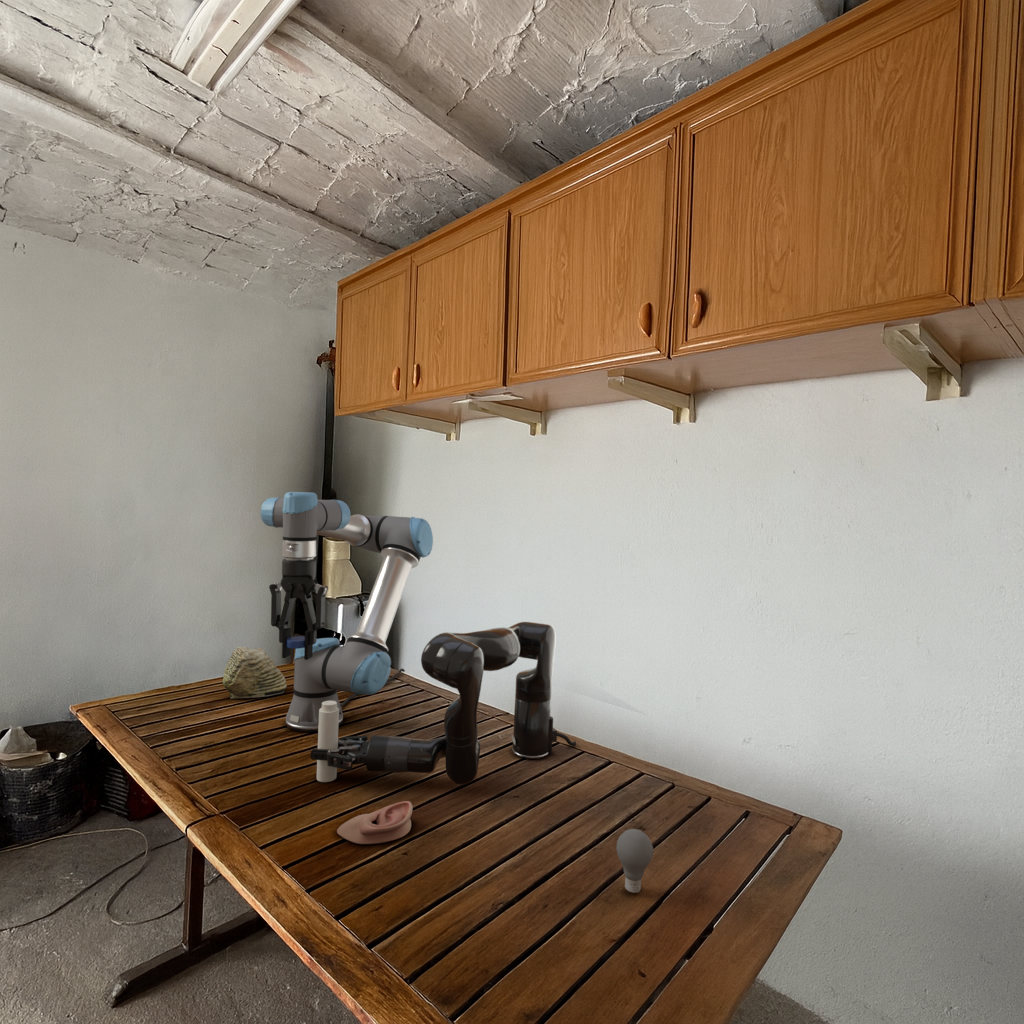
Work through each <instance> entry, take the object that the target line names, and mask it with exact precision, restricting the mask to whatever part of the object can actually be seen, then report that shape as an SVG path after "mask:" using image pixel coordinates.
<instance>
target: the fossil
mask: <svg viewBox="0 0 1024 1024" xmlns="http://www.w3.org/2000/svg"><path fill="white" fill-rule="evenodd" d="M222 676H223V677H222V685H223V687H224V688H225V690H226V691H228V693H229V698H230V699H250V698H264V697H271V696H275V695H281V694H284V693H285V691H286V689H287V687H288V686H287V680H286V678H285V676H284V674H283V673H282V672H281V669H279V668H278V667H277V665H276V663H275V662H274V660H273V659H272V658H271V657H270V656H269V655H268V654H267V653H266V652H265V650H264V649H263V648H260V647H258V648H251V647H247V646H246V647H245V646H238V647H237V648H236V649H235V650H233V651H232V653H231V656H230V657H229V659H228V660H227V663H226V666H225V668H224V671H223V675H222Z"/></svg>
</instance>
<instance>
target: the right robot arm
mask: <svg viewBox="0 0 1024 1024" xmlns="http://www.w3.org/2000/svg"><path fill="white" fill-rule="evenodd" d="M556 645H557V634H556V629H555V627H554V626H553V625H551V624H547V623H540V622H531V621H520V622H517V623H515V624H513V625H510V626H507V627H506V626H505V627H504V626H502V627H493V628H488V629H484V630H477V631H471V632H441V633H439V634H437V635H435V636H433V637H432V638H431V639H430V640H429V641H428V642H427V643H426V645H425V647H424V648H423V650H422V654H421V658H420V663H421V667H422V670H423V671H424V672H425V674H427V676H429V677H430V678H432V679H434V680H435V681H438V682H440V683H441V684H444V685H446V686H448V687H450V688H453V689H455V690H457V692H458V694H459V695H458V697H457V698H455V699H454V700H453V701H452V702H451V703H450V704H449V705H448V706H447V708H446V711H445V713H444V717H443V727H444V736H442V737H441V736H440V737H436V738H431V739H423V738H410V737H405V736H391V735H376V734H375V735H372V736H370V738H369V737H368V735H354V736H342V737H341V739H338V749H332V750H329V749H318V748H312V749H311V751H310V759H311V760H312V761H313V760H314V761H317V760H327V762H328V763H327V765H328V766H331V767H336V768H337V769H341V770H345V771H351V770H353V765H361V764H364V765H365V766H366V770H367V771H369V772H377V773H378V772H380V773H394V774H395V773H396V774H397V773H398V774H400V773H418V774H420V773H421V774H431V773H433V772H434V771H435V770H436V767H437V765H438V763H439V761H440V760H442V759H444V758H445V773H446V775H447V777H448V779H449V780H450V781H452V782H453V783H454V784H457V785H467V784H469V783H472V782H473V781H474V780H475V779H476V777H477V775H478V771H479V763H480V754H481V743H480V741H479V739H478V735H479V731H478V729H479V728H478V706H479V702H480V695H481V691H482V682H483V676H484V672H497V671H499V670H503V669H506V668H509V667H511V666H512V665H513V664H515V663H516V662H517V660H518V658H522V659H527V660H535V661H536V666H535V667H533V668H529V669H524V670H521V671H519V672H518V673H517V674H516V676H515V692H514V713H513V733H512V734H511V742H512V748H511V751H512V754H514V755H515V756H517V757H519V758H521V759H525V760H526V759H527V760H539V759H545V758H546V757H548V756H550V755H553V754H552V753H553V743H556V742H557V740H558V737H559V738H562V739H563V740H565V742H566V744H568V745H569V746H571V747H574V746H576V745H577V742H576V741H572V740H571V739H570V738H569V736H567V735H566V734H563V733H561V732H559V731H558V730H557V729H556V728H555V727H554V717H553V716H552V715H551V709H552V708H551V707H552V685H553V678H554V677H553V676H554V668H555V667H554V666H555V665H554V664H555V654H556V647H557V646H556ZM368 738H369V739H368ZM335 753H337V754H335ZM335 762H336V763H335Z"/></svg>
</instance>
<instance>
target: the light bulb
mask: <svg viewBox="0 0 1024 1024" xmlns="http://www.w3.org/2000/svg"><path fill="white" fill-rule="evenodd" d="M615 849H616V854H617V857H618V859H619V861H620V863H621V865H622V867H623V873H624V874H623V875H624V876H625V878H624V888H625V890H627V891H628V892H630V893H634V894H635V893H639V892H640V891H641V889H642V887H641V886H642V879H643V877H644V875H645V871H646V868H647V867H648V866H649V864H650V863H651V861H652V859H653V855H654V847H653V843H652V841H651V838H649V836H648V835H647V834H646V833H645V832H643V831H642V830H641V829H636V828H629V829H627V830H625V831H623V832H622V833H621V834H620V835H619V837H618V839H617V841H616V847H615Z"/></svg>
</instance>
